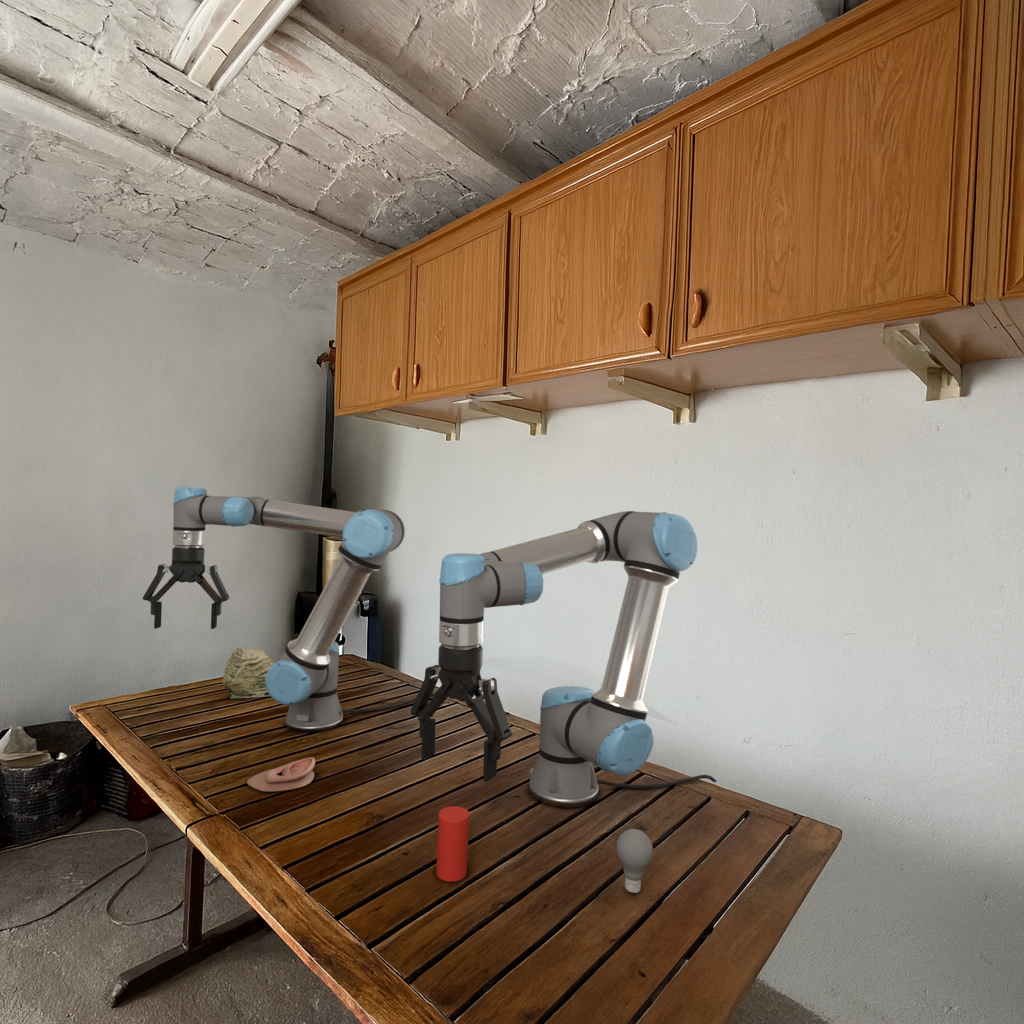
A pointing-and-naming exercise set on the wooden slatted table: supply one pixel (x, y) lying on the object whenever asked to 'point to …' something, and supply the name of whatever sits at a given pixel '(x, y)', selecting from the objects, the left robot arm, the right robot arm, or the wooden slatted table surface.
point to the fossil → (247, 673)
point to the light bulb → (634, 857)
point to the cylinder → (452, 843)
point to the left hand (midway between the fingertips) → (185, 627)
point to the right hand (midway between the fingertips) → (457, 767)
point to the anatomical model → (284, 776)
